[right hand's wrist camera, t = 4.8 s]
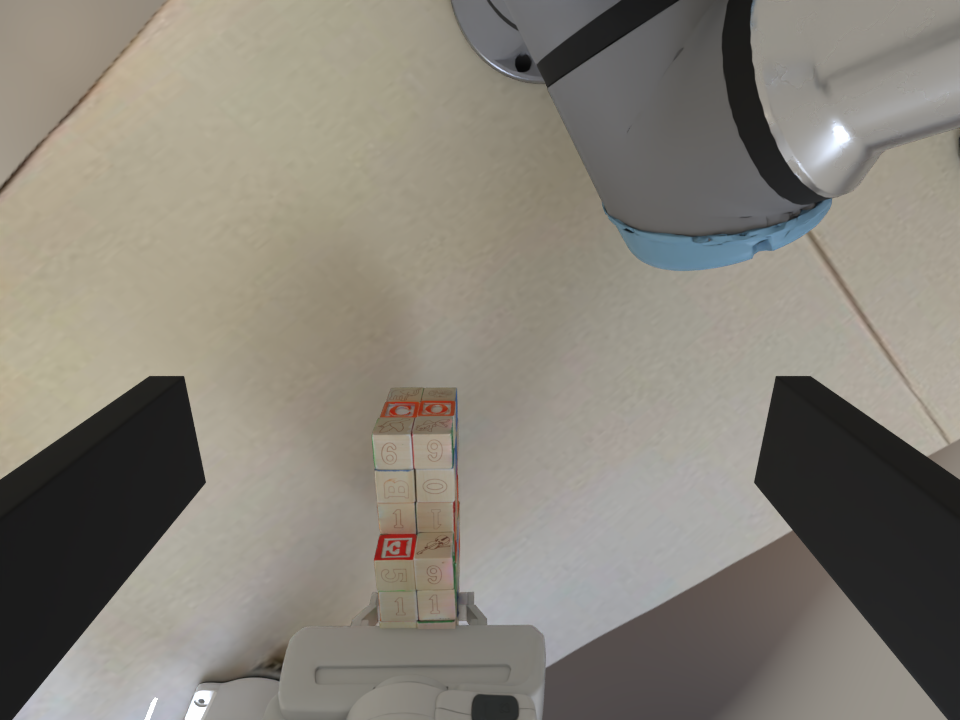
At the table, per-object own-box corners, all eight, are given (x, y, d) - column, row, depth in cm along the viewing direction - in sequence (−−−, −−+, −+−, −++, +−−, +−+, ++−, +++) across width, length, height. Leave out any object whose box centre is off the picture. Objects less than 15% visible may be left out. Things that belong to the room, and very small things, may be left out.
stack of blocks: (388, 385, 51) (363, 453, 39) (457, 385, 51) (453, 453, 39) (400, 576, 58) (382, 680, 46) (460, 575, 58) (457, 680, 46)
